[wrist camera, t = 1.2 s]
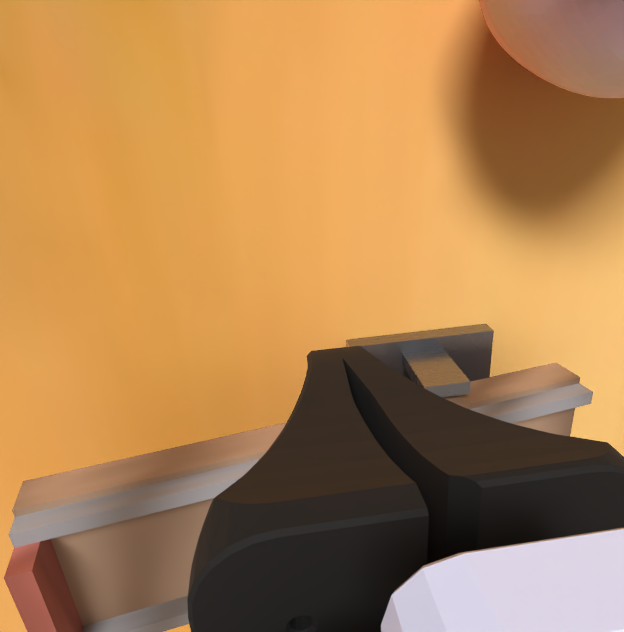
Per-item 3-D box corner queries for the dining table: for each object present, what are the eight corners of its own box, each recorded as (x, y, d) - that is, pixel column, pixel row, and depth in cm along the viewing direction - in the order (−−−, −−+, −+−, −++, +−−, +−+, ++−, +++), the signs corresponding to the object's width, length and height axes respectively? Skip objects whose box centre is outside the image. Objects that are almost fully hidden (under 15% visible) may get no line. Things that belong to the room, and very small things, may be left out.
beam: (556, 362, 23) (616, 400, 20) (538, 480, 26) (589, 529, 23) (23, 481, 18) (-6, 557, 15) (73, 613, 21) (58, 700, 18)
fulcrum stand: (485, 323, 24) (528, 362, 20) (472, 488, 28) (506, 544, 25) (346, 339, 24) (365, 382, 20) (353, 505, 28) (369, 566, 24)
